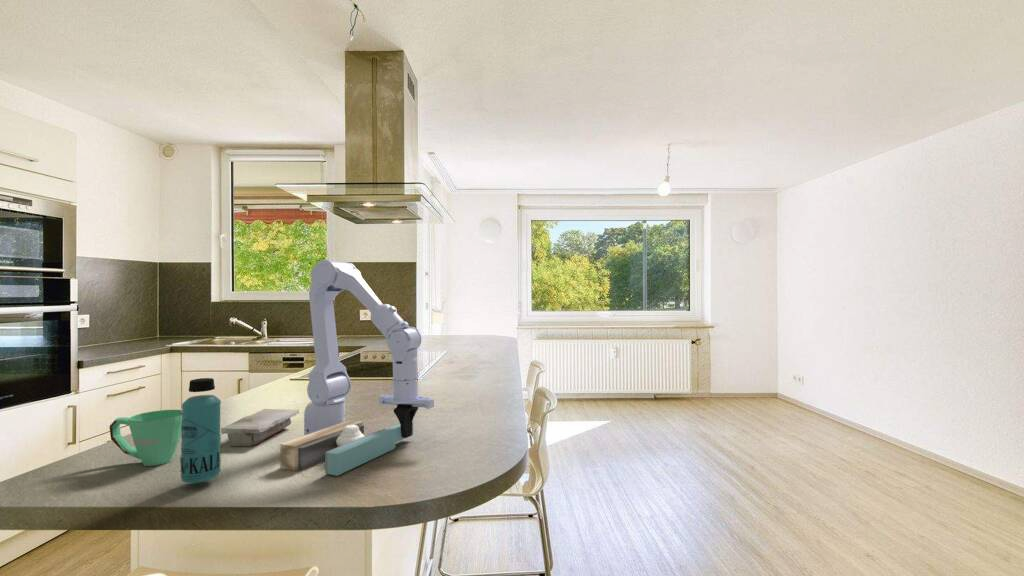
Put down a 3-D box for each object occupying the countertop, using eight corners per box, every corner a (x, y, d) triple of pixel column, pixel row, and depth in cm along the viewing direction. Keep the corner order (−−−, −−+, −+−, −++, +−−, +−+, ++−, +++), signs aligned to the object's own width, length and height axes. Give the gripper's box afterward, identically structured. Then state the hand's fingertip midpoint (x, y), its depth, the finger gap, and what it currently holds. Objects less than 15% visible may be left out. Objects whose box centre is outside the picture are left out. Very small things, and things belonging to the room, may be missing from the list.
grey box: (218, 448, 112) (259, 449, 112) (218, 427, 112) (259, 428, 112) (264, 425, 130) (300, 426, 130) (264, 407, 130) (299, 408, 130)
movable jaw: (325, 473, 95) (325, 452, 95) (402, 438, 118) (402, 420, 118) (337, 475, 94) (337, 454, 94) (413, 439, 117) (413, 422, 117)
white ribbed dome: (336, 462, 102) (335, 429, 102) (336, 453, 108) (336, 422, 108) (366, 458, 104) (365, 425, 104) (365, 450, 110) (364, 419, 110)
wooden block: (280, 468, 99) (280, 443, 99) (349, 440, 117) (349, 420, 117) (298, 472, 97) (298, 447, 97) (366, 443, 115) (366, 422, 115)
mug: (195, 453, 108) (195, 409, 108) (165, 470, 98) (165, 421, 98) (128, 454, 107) (129, 409, 108) (91, 471, 98) (91, 421, 98)
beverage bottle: (192, 478, 94) (192, 375, 94) (228, 477, 94) (228, 375, 94) (171, 492, 87) (172, 382, 87) (210, 491, 88) (210, 381, 88)
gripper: (369, 380, 113) (370, 438, 113) (421, 383, 107) (422, 444, 107) (388, 375, 119) (389, 430, 119) (438, 378, 113) (439, 436, 113)
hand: (406, 436), depth 113 cm, fingers closed, pressing on movable jaw
